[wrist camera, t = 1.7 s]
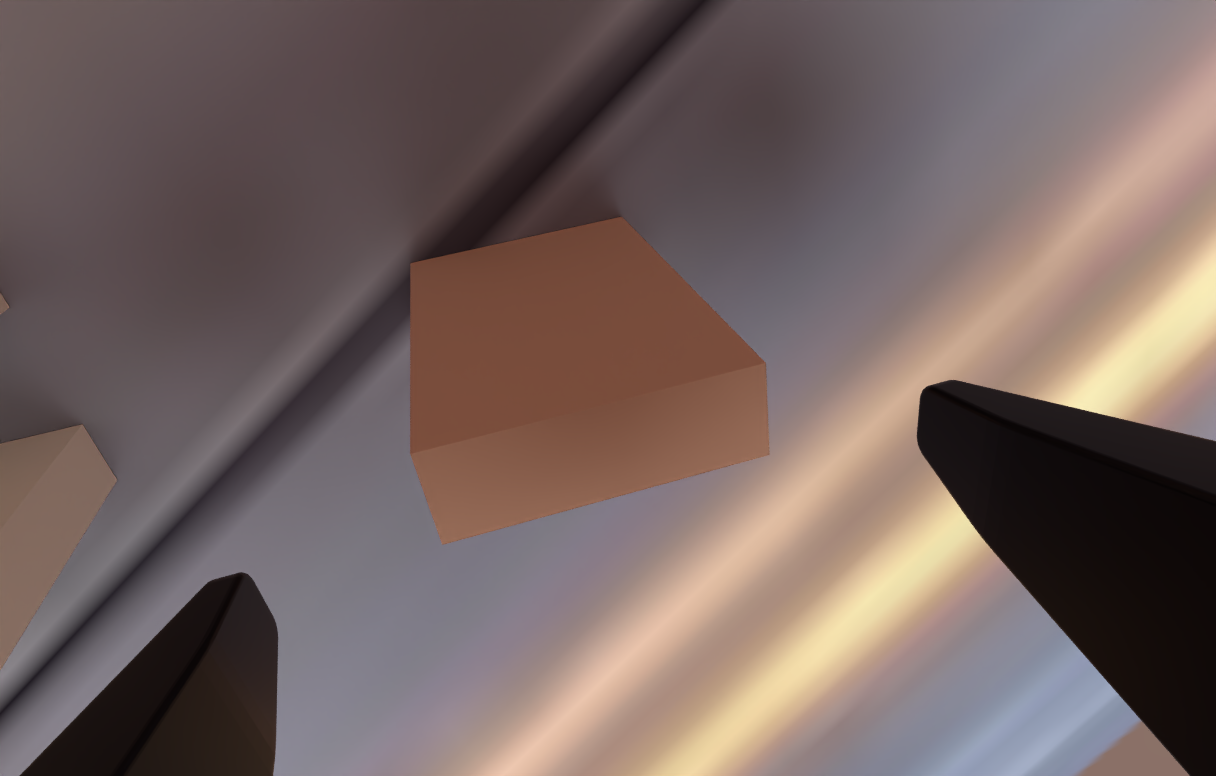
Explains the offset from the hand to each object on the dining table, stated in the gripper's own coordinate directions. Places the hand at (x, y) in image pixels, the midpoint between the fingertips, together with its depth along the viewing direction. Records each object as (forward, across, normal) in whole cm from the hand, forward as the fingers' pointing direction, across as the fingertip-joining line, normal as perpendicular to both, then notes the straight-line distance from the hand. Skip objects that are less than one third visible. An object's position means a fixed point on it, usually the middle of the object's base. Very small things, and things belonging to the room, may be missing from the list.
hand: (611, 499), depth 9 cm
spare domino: (+9, 0, 0) cm, 9 cm away
